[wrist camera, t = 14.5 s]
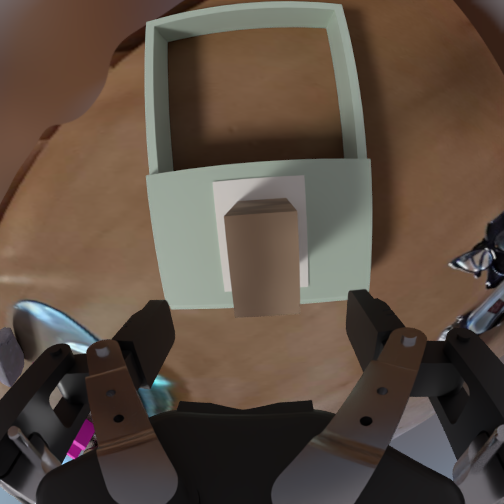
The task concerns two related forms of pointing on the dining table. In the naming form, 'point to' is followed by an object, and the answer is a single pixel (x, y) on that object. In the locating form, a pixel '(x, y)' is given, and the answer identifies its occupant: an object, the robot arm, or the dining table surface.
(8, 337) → the stone block
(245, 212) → the wood block
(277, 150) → the dining table surface
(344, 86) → the box
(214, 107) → the dining table surface
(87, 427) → the toy block
